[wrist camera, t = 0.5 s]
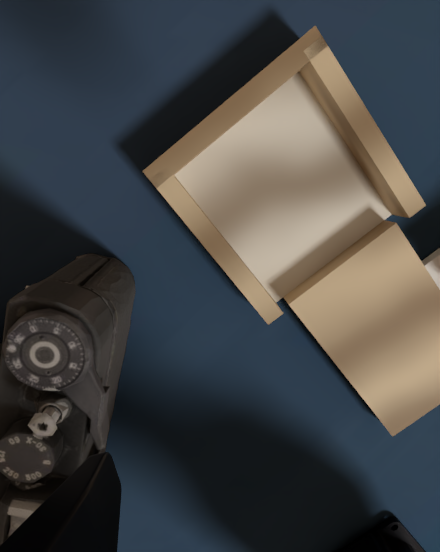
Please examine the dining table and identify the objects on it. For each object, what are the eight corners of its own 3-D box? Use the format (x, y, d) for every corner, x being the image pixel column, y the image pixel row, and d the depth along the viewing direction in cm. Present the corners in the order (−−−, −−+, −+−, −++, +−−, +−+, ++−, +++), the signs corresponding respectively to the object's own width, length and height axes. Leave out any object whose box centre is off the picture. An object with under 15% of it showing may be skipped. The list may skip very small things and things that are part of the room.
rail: (493, 342, 24) (519, 357, 22) (361, 434, 25) (376, 456, 23) (302, 40, 19) (315, 25, 17) (147, 171, 20) (142, 171, 18)
